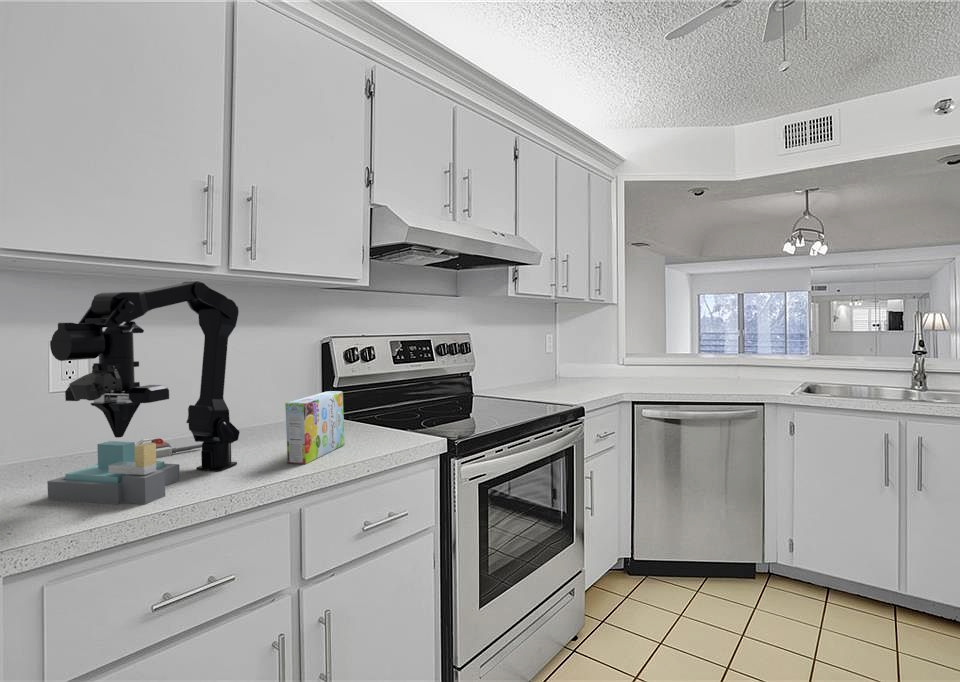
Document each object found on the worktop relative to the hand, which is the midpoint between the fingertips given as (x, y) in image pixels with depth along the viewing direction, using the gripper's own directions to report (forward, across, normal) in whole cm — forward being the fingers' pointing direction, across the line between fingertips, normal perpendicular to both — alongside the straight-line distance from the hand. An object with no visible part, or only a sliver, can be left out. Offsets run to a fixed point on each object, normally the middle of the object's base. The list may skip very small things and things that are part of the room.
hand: (119, 437), depth 109 cm
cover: (+10, -5, +4) cm, 12 cm away
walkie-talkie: (+13, -20, +32) cm, 40 cm away
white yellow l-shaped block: (+7, +3, 0) cm, 7 cm away
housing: (+12, -3, +4) cm, 13 cm away
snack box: (+12, +21, +40) cm, 47 cm away
